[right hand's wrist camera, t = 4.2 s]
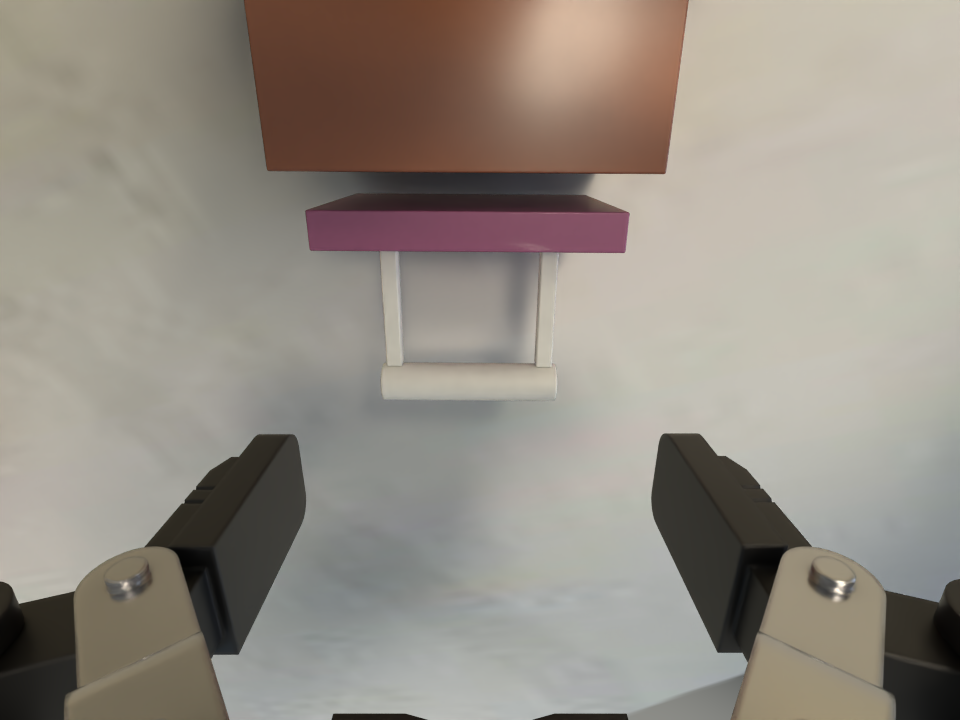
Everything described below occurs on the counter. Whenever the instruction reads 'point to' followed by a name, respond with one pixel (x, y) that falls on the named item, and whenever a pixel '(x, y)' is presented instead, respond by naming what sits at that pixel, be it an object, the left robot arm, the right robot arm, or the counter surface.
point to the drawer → (468, 229)
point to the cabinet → (467, 84)
